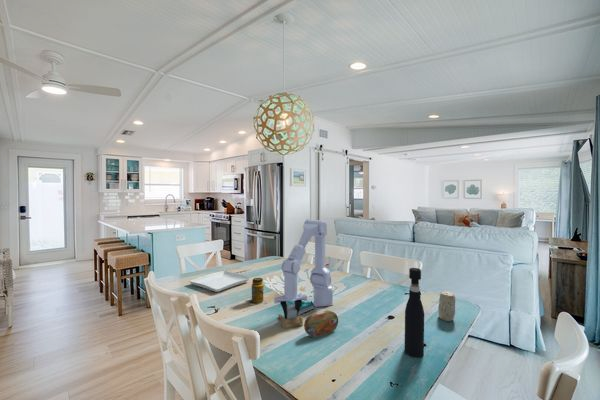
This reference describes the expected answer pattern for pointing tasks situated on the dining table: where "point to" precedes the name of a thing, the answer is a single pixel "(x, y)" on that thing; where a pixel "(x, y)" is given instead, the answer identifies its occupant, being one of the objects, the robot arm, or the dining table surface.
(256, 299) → the condiment
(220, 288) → the square plate
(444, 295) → the beige upright cylinder
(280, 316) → the wooden frame
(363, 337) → the dining table surface
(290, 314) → the panel block
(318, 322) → the tin
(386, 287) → the dining table surface
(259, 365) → the dining table surface
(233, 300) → the dining table surface
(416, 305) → the wine bottle
